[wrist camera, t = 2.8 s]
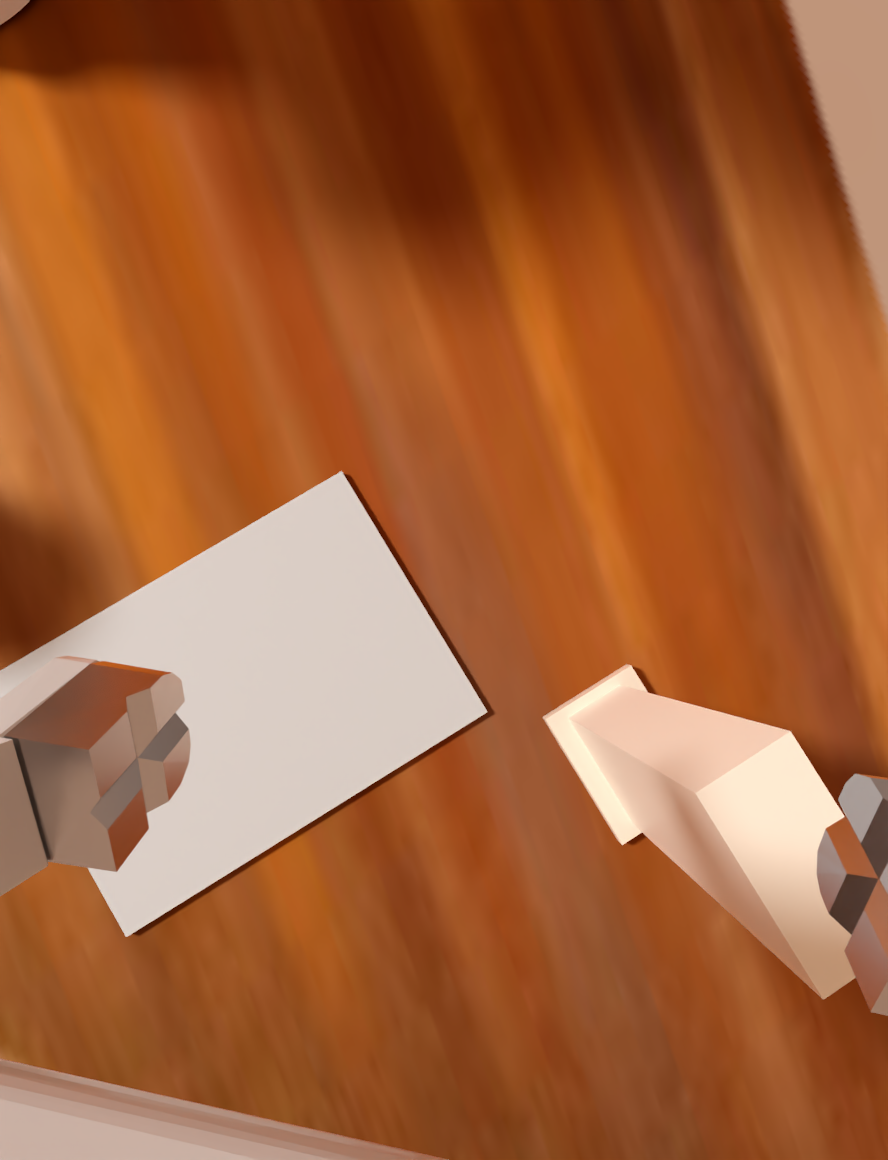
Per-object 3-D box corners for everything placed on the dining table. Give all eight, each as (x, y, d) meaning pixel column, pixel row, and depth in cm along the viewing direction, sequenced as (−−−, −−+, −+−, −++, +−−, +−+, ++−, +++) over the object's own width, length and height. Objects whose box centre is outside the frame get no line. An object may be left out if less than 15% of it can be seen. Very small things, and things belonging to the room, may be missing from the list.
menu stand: (617, 840, 32) (801, 1039, 16) (542, 717, 33) (652, 797, 17) (701, 785, 32) (961, 929, 17) (626, 664, 33) (811, 694, 17)
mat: (130, 933, 31) (126, 937, 31) (-12, 680, 32) (-18, 680, 31) (486, 710, 32) (487, 711, 32) (342, 472, 33) (341, 470, 33)
